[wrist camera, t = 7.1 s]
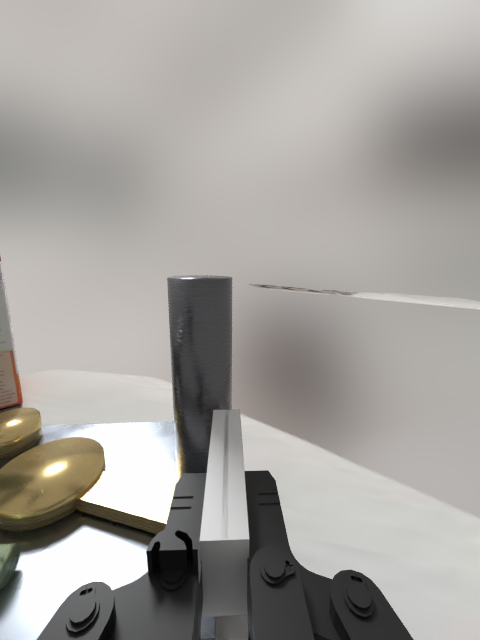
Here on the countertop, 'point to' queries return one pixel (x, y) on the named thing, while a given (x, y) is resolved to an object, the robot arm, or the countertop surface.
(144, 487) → the crank handle
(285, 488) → the countertop surface
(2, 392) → the cracker box
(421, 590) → the countertop surface
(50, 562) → the levelling plate
